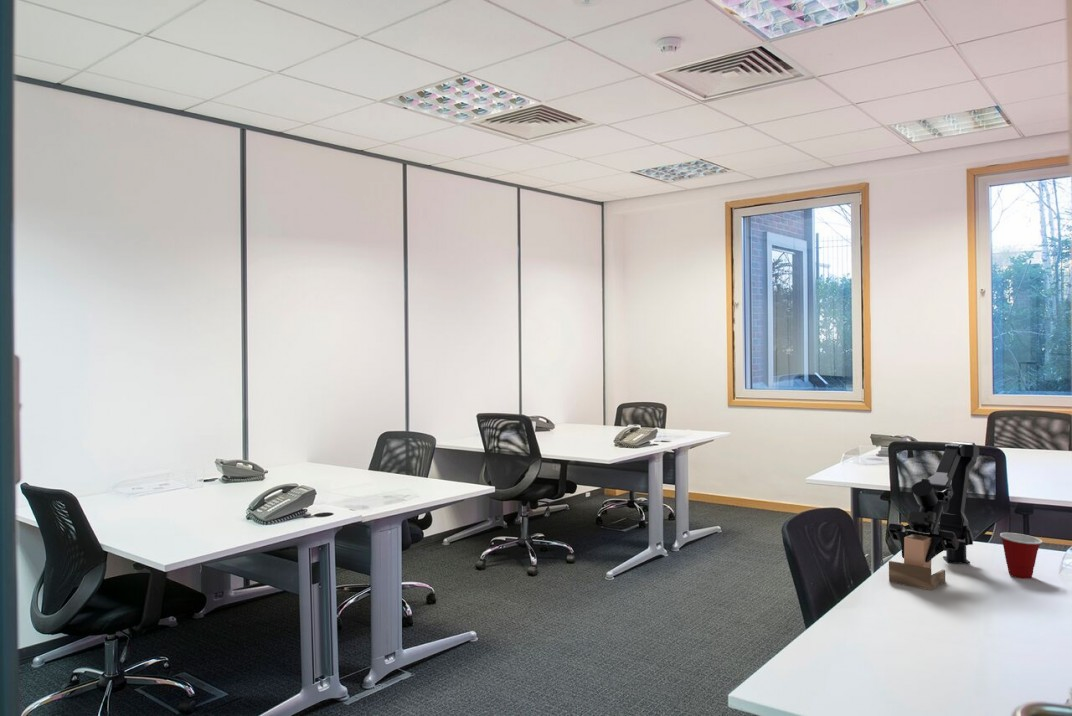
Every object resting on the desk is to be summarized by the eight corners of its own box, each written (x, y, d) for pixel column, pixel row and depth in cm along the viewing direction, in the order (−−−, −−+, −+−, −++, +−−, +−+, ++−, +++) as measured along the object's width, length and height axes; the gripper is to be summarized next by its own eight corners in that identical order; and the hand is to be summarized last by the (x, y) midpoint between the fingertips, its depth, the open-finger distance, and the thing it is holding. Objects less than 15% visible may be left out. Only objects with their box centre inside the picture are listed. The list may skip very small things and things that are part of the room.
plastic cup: (1041, 583, 218) (1041, 542, 218) (998, 577, 224) (997, 537, 224) (1044, 574, 226) (1043, 535, 226) (1002, 569, 233) (1001, 530, 233)
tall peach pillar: (911, 577, 225) (912, 533, 225) (931, 581, 221) (931, 537, 221) (903, 581, 222) (904, 536, 221) (923, 585, 218) (923, 540, 217)
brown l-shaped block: (904, 573, 229) (904, 554, 229) (945, 581, 221) (945, 561, 221) (889, 581, 222) (888, 561, 222) (930, 590, 213) (930, 569, 213)
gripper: (889, 496, 231) (873, 537, 224) (954, 504, 217) (940, 549, 210) (900, 518, 236) (885, 559, 229) (965, 527, 222) (951, 571, 215)
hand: (914, 559), depth 220 cm, fingers closed on tall peach pillar, 6 cm apart
